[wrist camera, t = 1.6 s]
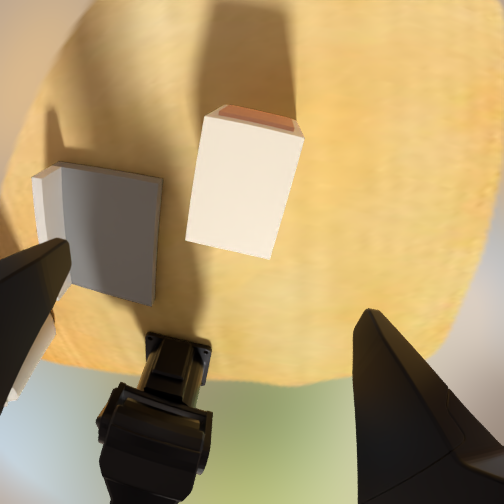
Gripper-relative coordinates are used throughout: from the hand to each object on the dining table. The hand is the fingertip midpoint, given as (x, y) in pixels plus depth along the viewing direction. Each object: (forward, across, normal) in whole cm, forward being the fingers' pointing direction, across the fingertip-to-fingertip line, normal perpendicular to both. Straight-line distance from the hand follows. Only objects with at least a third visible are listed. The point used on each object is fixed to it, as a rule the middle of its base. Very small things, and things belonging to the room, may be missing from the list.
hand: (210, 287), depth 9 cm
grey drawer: (+13, +10, +8) cm, 18 cm away
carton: (+13, 0, 0) cm, 13 cm away
